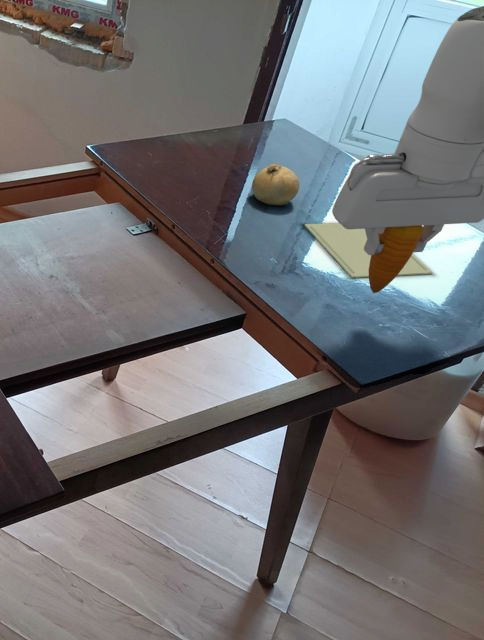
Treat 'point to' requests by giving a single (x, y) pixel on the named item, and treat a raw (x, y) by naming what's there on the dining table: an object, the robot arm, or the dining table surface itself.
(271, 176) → the onion
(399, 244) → the carrot
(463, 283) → the dining table surface
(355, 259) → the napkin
